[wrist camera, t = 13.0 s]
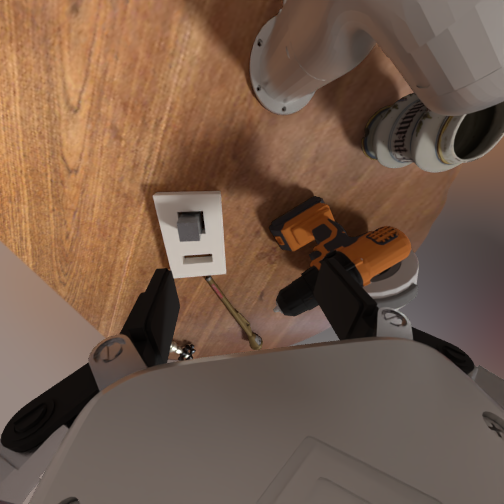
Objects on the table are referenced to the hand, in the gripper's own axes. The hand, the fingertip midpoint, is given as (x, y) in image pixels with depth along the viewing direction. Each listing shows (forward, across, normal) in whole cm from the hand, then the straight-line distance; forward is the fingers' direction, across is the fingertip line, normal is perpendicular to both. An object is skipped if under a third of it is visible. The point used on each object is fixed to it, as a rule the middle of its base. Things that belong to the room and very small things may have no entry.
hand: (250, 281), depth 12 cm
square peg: (+33, +8, +8) cm, 35 cm away
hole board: (+33, +8, +12) cm, 36 cm away
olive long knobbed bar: (+32, -1, +41) cm, 52 cm away
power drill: (+33, -15, +11) cm, 38 cm away
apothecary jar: (+34, -34, -9) cm, 49 cm away
